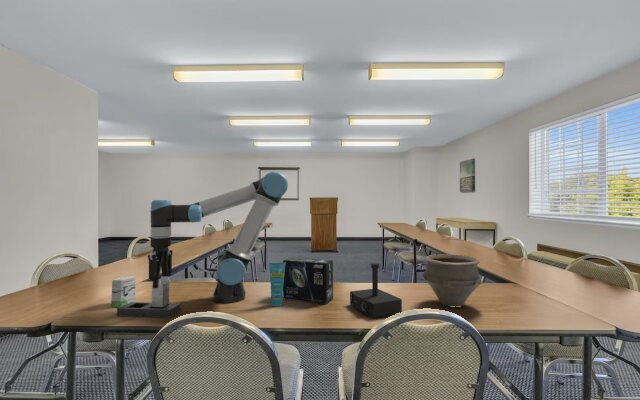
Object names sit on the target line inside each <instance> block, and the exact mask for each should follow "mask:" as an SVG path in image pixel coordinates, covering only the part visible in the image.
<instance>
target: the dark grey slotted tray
mask: <svg viewBox="0 0 640 400" xmlns="http://www.w3.org/2000/svg"><path fill="white" fill-rule="evenodd" d="M181 308H182V306H181V303H173V302H171V303H170V302H169V304H167V305H166V306H164V307H152V302H142V301H141V302H138V301H137V302H136V301H135V302H130V303H128V304H126V305H124V306H121V307H116V316H117V317H136V318H137V317H138V318H139V317H140V318H141V317H143V318H145V317H146V318H168V319H169V318H171V317H173V316H174V315H176V314H178V313H179V312H181Z"/></svg>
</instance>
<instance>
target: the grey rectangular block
mask: <svg viewBox="0 0 640 400" xmlns="http://www.w3.org/2000/svg"><path fill="white" fill-rule="evenodd" d="M151 303H152V307H164V306H166V305H167V304H169V303H170V281H168V282H161V295H160V296H153V284H151Z"/></svg>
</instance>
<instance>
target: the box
mask: <svg viewBox="0 0 640 400" xmlns="http://www.w3.org/2000/svg"><path fill="white" fill-rule="evenodd" d="M282 262H286V265H285V272H284V283H283V298H282V299H284V298H285V299H284V300H290V299H291V301H300V302H301V301H302V302H306V303H307V302H309V303H316V304H324V305H327V304H329V302H330V301H332V299H334V261H333V259H324V258H322V259H320V258H304V257H290V258H287V259H283V260H282Z"/></svg>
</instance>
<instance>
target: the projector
mask: <svg viewBox="0 0 640 400" xmlns="http://www.w3.org/2000/svg"><path fill="white" fill-rule="evenodd" d="M370 268H372V269H371V270H372V273H371V274H372V275H371V276H372V280H371V282H372V284H371V287H372V288H368V289H359V290H351V291H349V304H350V305H351V306H352V305H353V308H354V309H356V310H357V311H359V312H360V311H361V313H363V314H364V315H366V316H369V317H371V318H373V319H377V317H378V318H382V317H390V316H394V315H393V314H396V313H399V312H402V313H403V305H402V303H403V300H402V299H401V298H400V297H397V296H395V295H393V294H390V293H389V292H386V291H384V290H381V289H379V288H378V287H379V286H378V285H379V281H378V280H379V275H378V273H379V270H378V269H379V268H380V263H378V262H372V263H370ZM396 315H397V314H396Z"/></svg>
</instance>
